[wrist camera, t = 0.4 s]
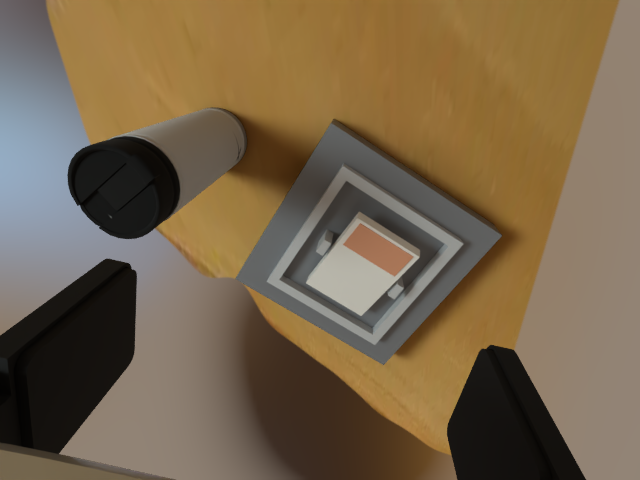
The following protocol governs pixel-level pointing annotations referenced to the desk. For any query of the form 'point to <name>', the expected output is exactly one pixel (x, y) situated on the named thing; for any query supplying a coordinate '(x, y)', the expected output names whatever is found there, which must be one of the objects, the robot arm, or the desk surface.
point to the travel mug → (154, 170)
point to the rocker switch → (362, 264)
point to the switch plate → (387, 210)
